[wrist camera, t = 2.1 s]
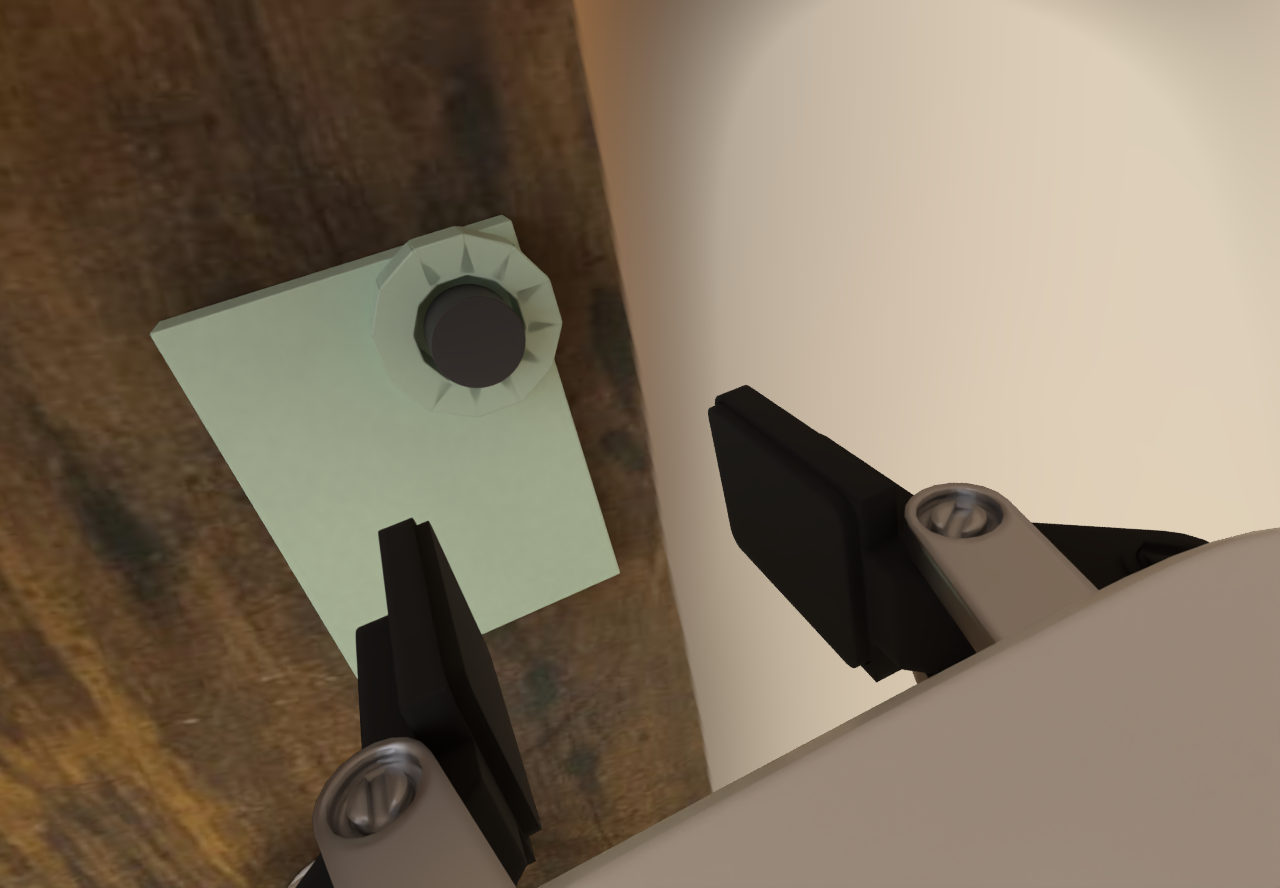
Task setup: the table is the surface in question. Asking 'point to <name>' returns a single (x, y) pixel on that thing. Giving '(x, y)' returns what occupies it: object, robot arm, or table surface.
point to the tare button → (474, 336)
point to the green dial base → (398, 430)
